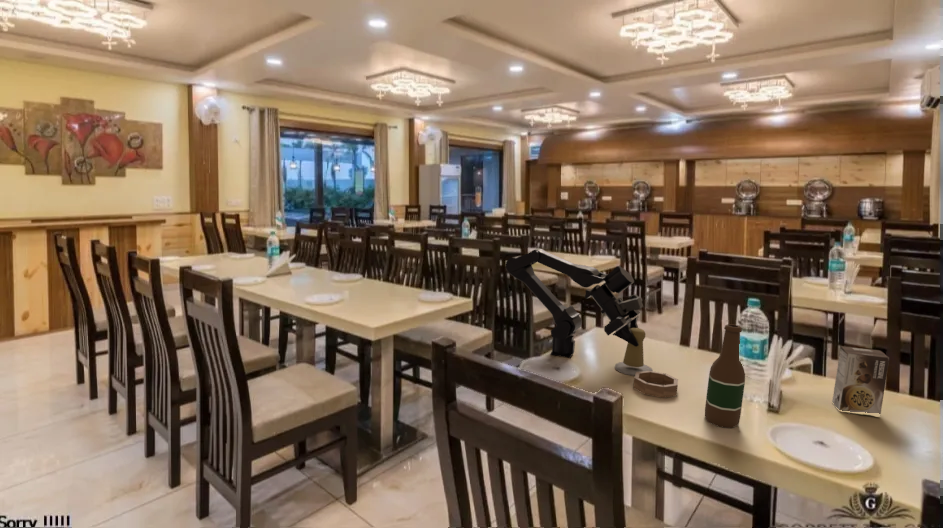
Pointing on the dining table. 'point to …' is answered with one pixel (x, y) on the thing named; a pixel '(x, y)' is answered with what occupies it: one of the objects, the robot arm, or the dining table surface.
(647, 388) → the guard ring
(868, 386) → the coffee box
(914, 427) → the dining table surface
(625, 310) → the robot arm
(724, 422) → the beer bottle
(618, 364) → the slate coaster
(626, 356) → the cork
